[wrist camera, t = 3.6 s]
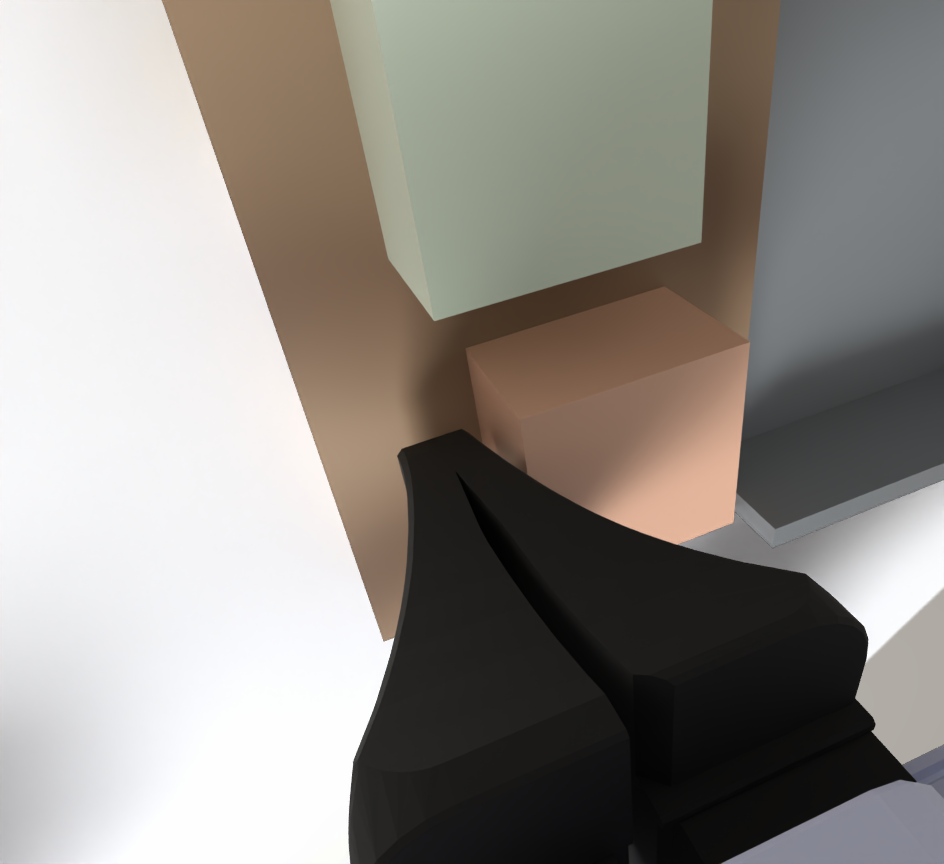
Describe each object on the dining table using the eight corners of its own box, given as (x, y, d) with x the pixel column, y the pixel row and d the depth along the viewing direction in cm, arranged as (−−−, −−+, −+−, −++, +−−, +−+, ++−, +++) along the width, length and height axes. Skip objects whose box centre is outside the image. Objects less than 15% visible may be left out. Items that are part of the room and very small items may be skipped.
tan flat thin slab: (685, 463, 19) (731, 508, 18) (364, 580, 17) (383, 641, 16) (719, -332, 10) (817, -385, 9) (77, -256, 9) (56, -306, 7)
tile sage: (614, 196, 12) (701, 242, 10) (388, 258, 11) (434, 320, 9) (606, -95, 10) (718, -111, 8) (321, -42, 9) (362, -45, 7)
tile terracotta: (662, 452, 16) (733, 522, 14) (494, 513, 15) (544, 596, 13) (664, 286, 13) (749, 342, 11) (465, 347, 13) (519, 419, 11)
